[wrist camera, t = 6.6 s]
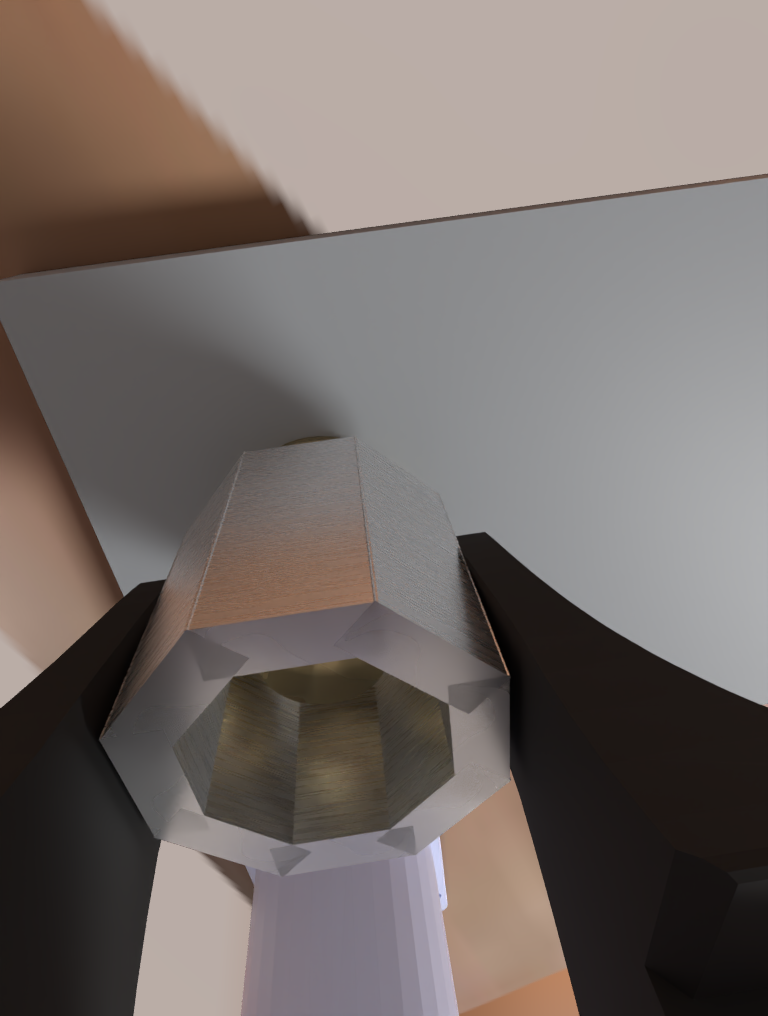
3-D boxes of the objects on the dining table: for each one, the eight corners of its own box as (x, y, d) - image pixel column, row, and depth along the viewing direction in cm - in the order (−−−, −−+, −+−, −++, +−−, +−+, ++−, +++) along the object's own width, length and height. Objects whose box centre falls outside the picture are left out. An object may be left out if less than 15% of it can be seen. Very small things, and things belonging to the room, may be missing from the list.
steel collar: (449, 628, 13) (510, 839, 9) (232, 661, 13) (185, 892, 9) (434, 423, 11) (511, 580, 6) (162, 462, 10) (46, 649, 6)
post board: (840, 655, 20) (1040, 831, 15) (218, 752, 20) (176, 975, 14) (1053, 135, 12) (1668, 81, 7) (21, 274, 12) (-259, 342, 6)
